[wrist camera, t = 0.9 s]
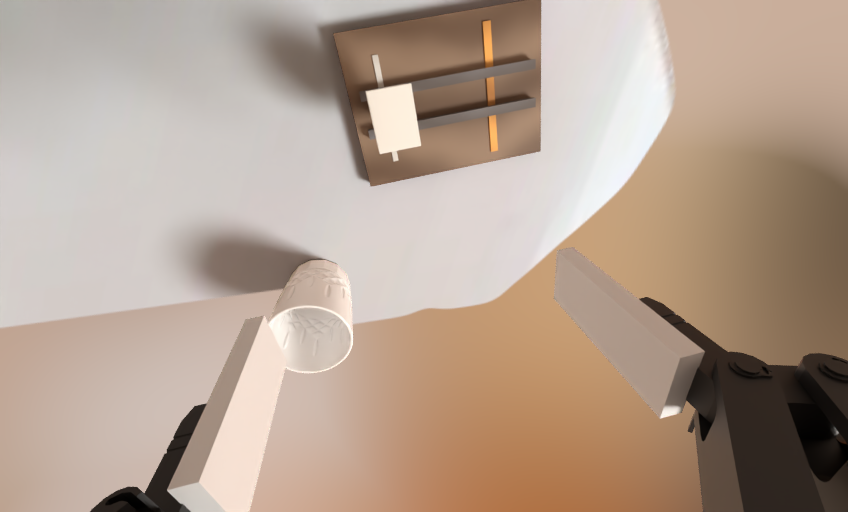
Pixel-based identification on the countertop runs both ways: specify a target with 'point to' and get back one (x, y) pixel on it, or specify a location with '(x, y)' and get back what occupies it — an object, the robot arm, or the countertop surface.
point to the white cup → (314, 317)
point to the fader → (394, 118)
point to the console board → (450, 86)
